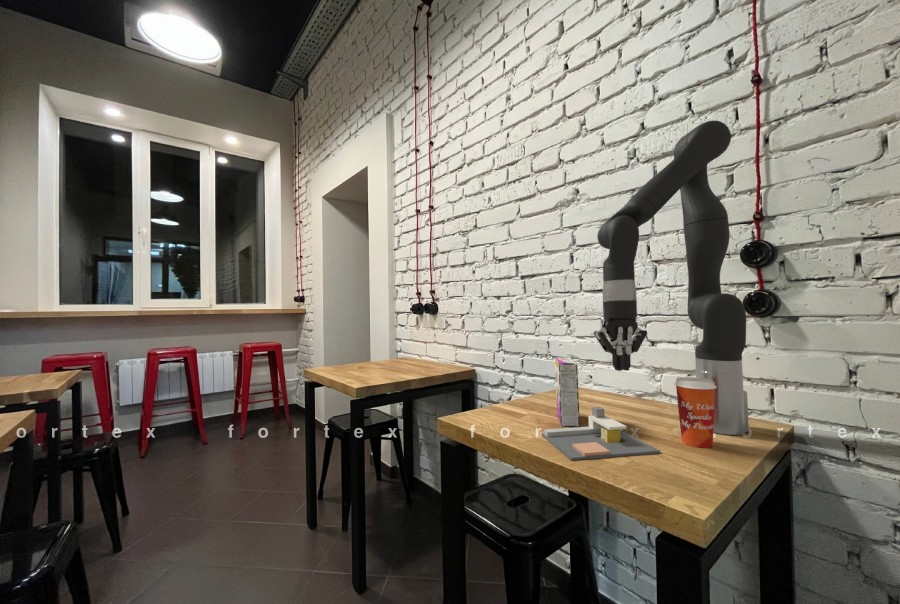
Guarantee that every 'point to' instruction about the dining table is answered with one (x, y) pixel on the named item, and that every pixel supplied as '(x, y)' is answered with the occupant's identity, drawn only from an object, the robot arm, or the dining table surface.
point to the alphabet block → (610, 435)
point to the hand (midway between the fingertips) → (621, 369)
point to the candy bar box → (567, 391)
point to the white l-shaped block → (603, 420)
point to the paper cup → (696, 410)
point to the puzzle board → (594, 444)
